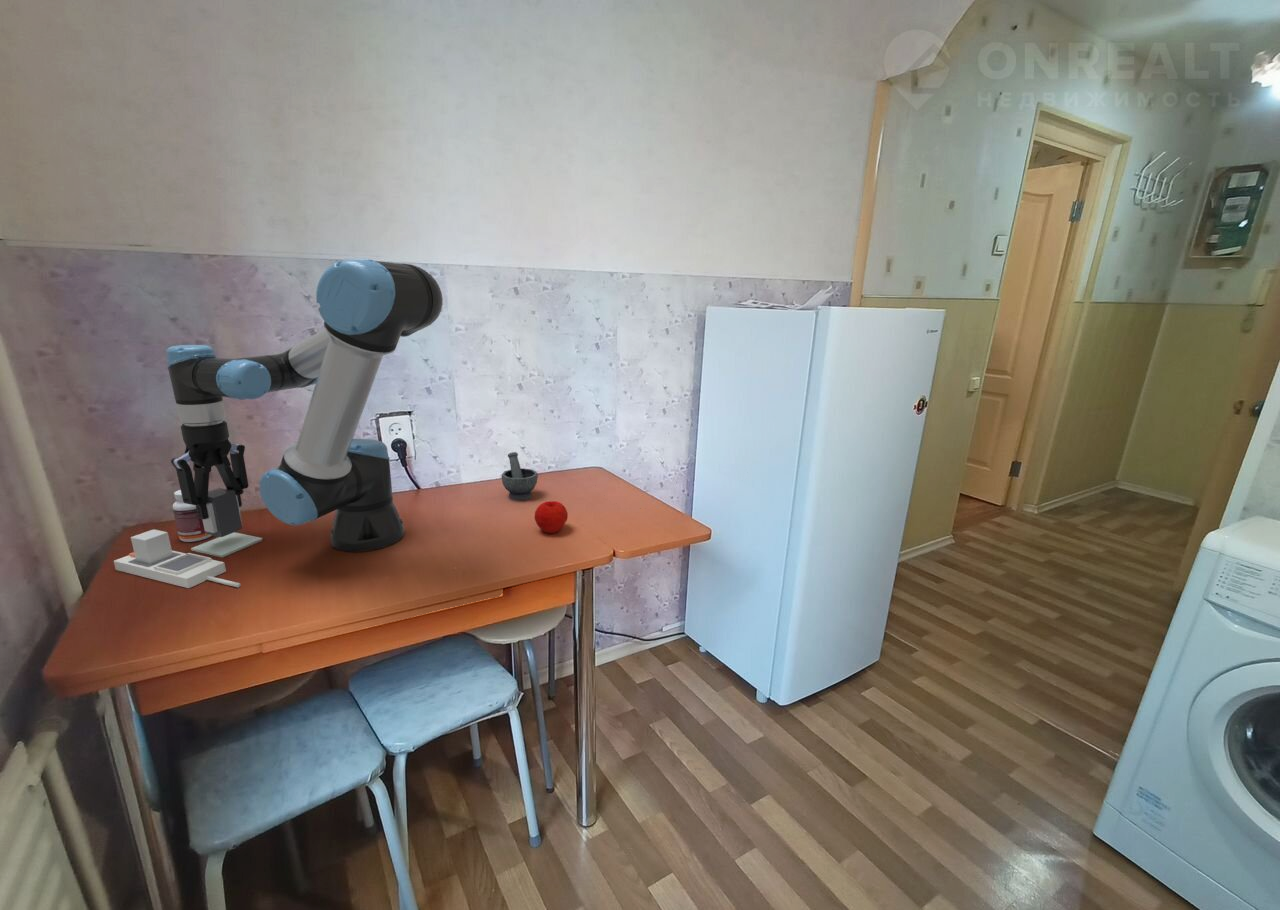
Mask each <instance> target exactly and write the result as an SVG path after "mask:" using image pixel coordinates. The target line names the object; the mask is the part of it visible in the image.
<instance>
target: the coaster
mask: <svg viewBox="0 0 1280 910" xmlns="http://www.w3.org/2000/svg"><path fill="white" fill-rule="evenodd" d="M262 541H263V537H259V536H253V535H249V534H244V533H240V532H234V533H231V534H229V535H226V536H224V537H216V538H214V539H211V540H209V541H205V542H203V543H200V544H199V545H195V546H194V547H191V548H190V550H191V552H196V553H200V554H201V553H202V554H205V555H210V556H214V557H219V558H224V557H226V556H229V555H231V554H233V553H236V552H237V551H241V550H243V549H246V548H248V547H250V546H253V545H255V544H257V543H259V542H262Z"/></svg>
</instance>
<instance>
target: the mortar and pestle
mask: <svg viewBox="0 0 1280 910" xmlns="http://www.w3.org/2000/svg"><path fill="white" fill-rule="evenodd" d="M518 456H519V453H518V452H516V451H513V452H510V453H508V454H507V458H508V460H509V466H510V469H507V470H504V471H503V472H502V473H501V483H502V485H503V487H504V489H506V490H507V492H509V493H508V498H509V499H510V500H513V501H519V502H520V501H521V502H522V501H526V500H529V499H531V498H532V497H533V496H532V491H533V490H534V488H535V487H536V485H537V482H538V477H539V476H538V475H539V474H538V472H537V471H535V470H534V469H531V468H530V469H529V468H521V464H520V461H519V457H518Z"/></svg>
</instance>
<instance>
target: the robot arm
mask: <svg viewBox="0 0 1280 910" xmlns="http://www.w3.org/2000/svg"><path fill="white" fill-rule="evenodd" d="M315 297H316V298H315V300H316V303H317V304H319V306H320V307H318V308H317V309H318V312H319V315H320V317H321V318H322V320H323V321H324V322H323V329H322V330H320V331H319V332H317V333H315V334H314V335H311V336H310V337H308V338H306V339H304V340H303V341H301V342H299V343H297V344H295V345H294V346H292V347H290V348H289V349H287V350H285V351H284V352H282V353H278V354H277V353H276V354H268V355H267V354H266V355H259V356H248V357H239V358H222V357H217V356H216V354H215V351H214V348H213V347H211V346H210V345H206V344H183V345H173V346H170V347H168V348H167V349H166V351H165V352H166V353H165V354H166V361H167V366H166V368H167V370H168V373H169V375H168V376H169V379H170V382H171V387H172V392H173V396H174V400H175V405H176V409H177V415H178V420H179V422H180V423H181V424H182V425H180V431H181V436H182V440H183V441H182V442H184V445H185V450H184V454H183V455H181V456H180V457H178V458H176V457H173V458H171V460H170V463H171V464H172V466H173V467H174V469H175V471H176V475H177V478H178V479H177V480H178V484H179V488H180V489H179V490H181V494H182V498H183V502H184V503H186V504H191V505H196V510H197V515H198V517H199V519H202V520H203V525H204V530H205V531H207V532H211V533H216V532H218V531H217V526H216V520H215V515H214V511H213V506H212V503H208V491H209V487H210V486H209V485H210V483H209V481H210V474H211V472H212V467H215V468H216V469H217V472H218V474H219V475H220V477H221V480H222V482H223V483H224V487H225V489H228V490H234V491H235V494H236V499H237V504H238V509H239V514H240V520H241V524H242V523H243V520H242V515H241V510H240V508H241V507H242V506H243V502H242V497H241V495H243V494H244V492H245V491H244V489H248V488H249V480H248V479H249V478H248V474H247V468H246V467H247V466H246V462H245V456H244V455H245V451H246V449H245V448H246V446H245V445H244V444H239V443H231V442H230V440H229V438H230V432H229V427H228V422H227V421H225V419H226V418H227V416H226V415H227V413H226V410H225V404H224V400H223V398H230V399H235V400H236V399H237V400H257V399H260V398H262V397H263V396H264V395H265V394H268V393H274V392H279V391H284V390H291V389H299V388H301V389H304V388H306V387H309V386H311V385H312V386H313V385H314V389H313V390H312V391H313V392H312V395H311V398H310V401H309V403H308V406H307V407H308V408H307V410H306V413H305V417H304V418H303V419H304V420H303V422H302V426H301V429H300V432H299V435H298V439H297V441H296V442H294V443H291V444H290V445H288V446H287V447H286V449H285V450H284V452H283V455H282V458H281V460H280V461H281V462H280V464H279V466H278V467H276V468H271V469H269V470H268V471H266V472H265V473H264V474H262V476H261V477H260V479H259V483H258V485H259V489H258V490H259V494H260V497H261V500H262V502H263V503H264V505H265V507H266V508H267V509H268V511H269V512H270V513H271V514H272V515H273V516H274V517H275V519H277V520H279V521H280V522H282V523H284V524H287V525H290V526H300V525H304V524H306V523H309V522H315V521H316V520H318V519H319V518H321V517H323V516H326V515H328V514H329V513H332V512H334V511H335V513H334V517H333V522H332V529H331V530H330V533H329V534H330V544H331V546H332V547H333V548H335V549H336V550H339V551H342V552H352V553H353V552H354V553H355V552H368V551H374V550H379V549H381V548H385V547H388V546H391V545H393V544H395V543H397V542H398V541H401V539H402V538H403V537H404V535H405V524H404V522H403V520H402V519H401V517H400V515H399V512H398V510H397V508H396V506H395V503H394V499H393V498H394V497H393V488H392V476H391V466H390V465H391V464H390V459H391V458H390V457H389V451H388V446H387V445H386V443H384V442H383V441H380V440H376V439H370V438H354V437H355V433H356V431H357V429H358V425H359V422H360V420H361V417H362V414H363V412H364V409H365V407H366V404H367V401H368V398H369V395H370V392H371V390H372V387H373V384H374V381H375V380H376V375H377V374H378V370H379V368H380V365H381V362H382V359H383V356H386V355H389V354H392V353H393V352H395V351H396V348H397V346H398V343H399V341H400V338H401V337H402V338H404V337H409V336H411V335H413V334H414V333H417V332H418V331H421V330H423V329H425V328H428V327H429V326H431V325H432V324H434V323H435V321H436V320H437V319H438V317H439V316H440V314H441V312H442V308H443V301H444V300H443V294H442V290H441V287H440V284H438V282H437V281H436V279H435V278H434V277H433V275H431V273H430V272H428V271H427V270H425V269H423V268H421V267H420V266H416V265H414V264H410V263H409V264H407V263H398V262H397V263H396V262H388V261H377V260H375V259H371V258H356V259H344V260H339V261H337V262H335V263H333V264H331V265H330V266H329V267H328V268H327V269H326V270H325V271H324V272H323V274H322V275H321V276H320V278H319V280H318V283H317V285H316V292H315ZM228 456H229V458H228ZM229 459H230V460H229ZM190 461H192V462H193V464H192V463H191V462H190ZM191 465H193V466H192V468H191ZM192 469H193V471H194V475H193V472H192ZM193 476H194V477H193Z"/></svg>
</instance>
